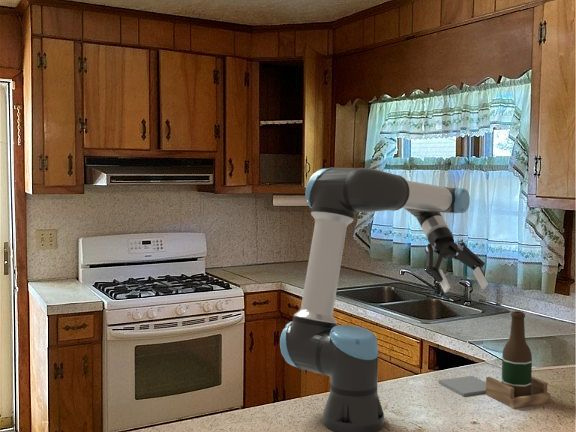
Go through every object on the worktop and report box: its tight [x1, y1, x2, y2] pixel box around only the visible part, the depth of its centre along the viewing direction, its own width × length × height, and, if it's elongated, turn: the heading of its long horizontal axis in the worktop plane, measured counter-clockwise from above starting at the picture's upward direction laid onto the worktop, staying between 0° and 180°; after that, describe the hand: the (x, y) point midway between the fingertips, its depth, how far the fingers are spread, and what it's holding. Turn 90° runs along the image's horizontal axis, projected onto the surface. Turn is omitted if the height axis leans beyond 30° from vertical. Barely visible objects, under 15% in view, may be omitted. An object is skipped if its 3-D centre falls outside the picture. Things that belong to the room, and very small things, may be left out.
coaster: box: [438, 375, 486, 397], centre depth 183 cm, size 12×12×1 cm
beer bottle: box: [501, 310, 533, 397], centre depth 173 cm, size 8×8×24 cm
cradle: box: [485, 375, 551, 409], centre depth 173 cm, size 12×11×5 cm
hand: (466, 288), depth 188 cm, fingers open, 13 cm apart
